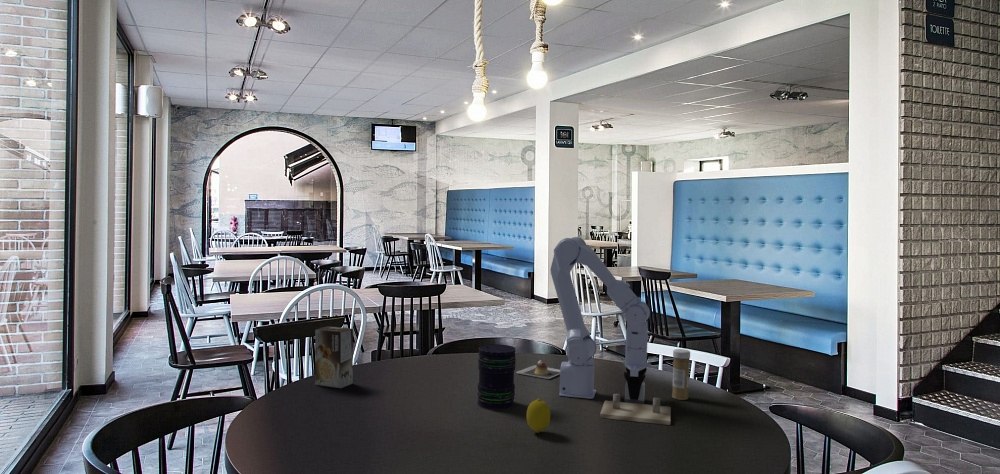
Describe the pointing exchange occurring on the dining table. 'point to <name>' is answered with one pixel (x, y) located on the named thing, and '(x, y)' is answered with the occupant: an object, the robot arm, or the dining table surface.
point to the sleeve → (641, 395)
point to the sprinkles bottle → (681, 374)
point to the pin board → (636, 411)
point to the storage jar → (496, 377)
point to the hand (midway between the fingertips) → (634, 396)
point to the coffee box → (333, 356)
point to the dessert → (539, 370)
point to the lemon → (538, 415)
